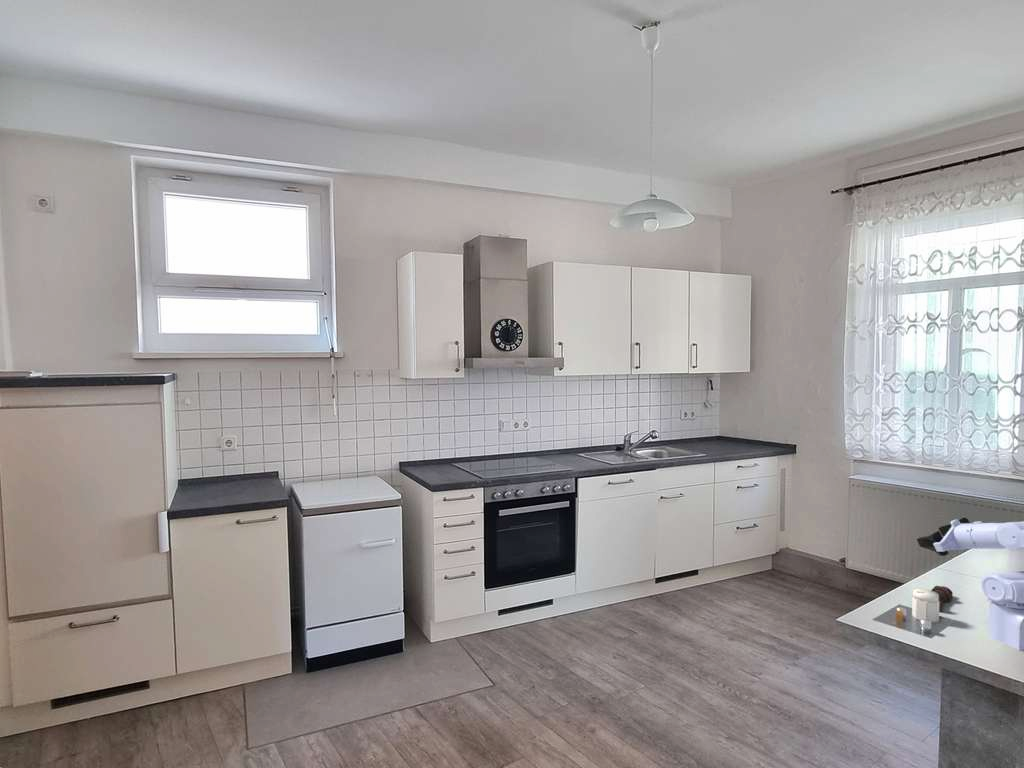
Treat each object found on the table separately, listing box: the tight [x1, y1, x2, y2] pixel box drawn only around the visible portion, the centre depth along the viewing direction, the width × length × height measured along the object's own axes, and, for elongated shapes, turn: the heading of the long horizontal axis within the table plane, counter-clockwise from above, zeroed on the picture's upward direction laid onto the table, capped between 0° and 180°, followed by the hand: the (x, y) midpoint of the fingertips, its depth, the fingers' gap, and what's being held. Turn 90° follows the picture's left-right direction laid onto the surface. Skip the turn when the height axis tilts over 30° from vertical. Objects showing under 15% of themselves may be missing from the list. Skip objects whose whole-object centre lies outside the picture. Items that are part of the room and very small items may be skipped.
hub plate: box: [871, 603, 957, 639], centre depth 139 cm, size 16×12×4 cm
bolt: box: [930, 585, 954, 612], centre depth 150 cm, size 6×5×15 cm
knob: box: [911, 588, 940, 622], centre depth 141 cm, size 5×5×6 cm
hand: (930, 536), depth 149 cm, fingers open, 7 cm apart
